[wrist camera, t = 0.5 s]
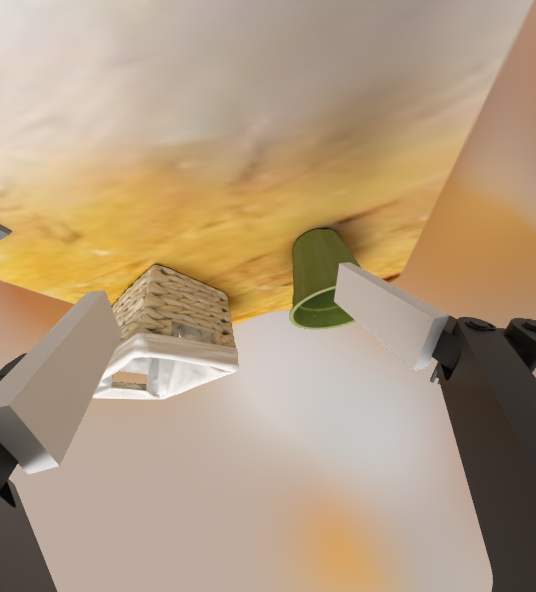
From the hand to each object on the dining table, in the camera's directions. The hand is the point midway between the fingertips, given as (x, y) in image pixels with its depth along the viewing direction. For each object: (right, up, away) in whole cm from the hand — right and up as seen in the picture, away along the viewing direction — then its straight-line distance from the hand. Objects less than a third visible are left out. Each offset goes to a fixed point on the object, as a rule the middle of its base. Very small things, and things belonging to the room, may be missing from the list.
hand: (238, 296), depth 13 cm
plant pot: (+9, +8, +21) cm, 24 cm away
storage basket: (-18, -1, +30) cm, 35 cm away
